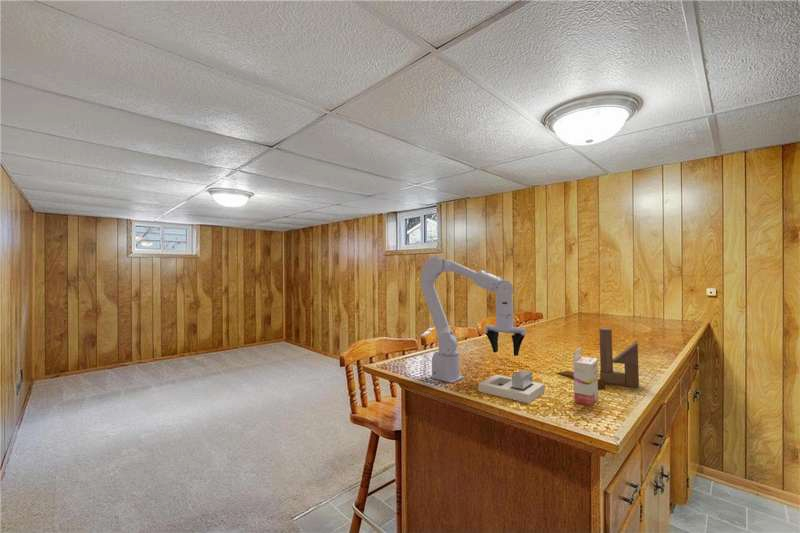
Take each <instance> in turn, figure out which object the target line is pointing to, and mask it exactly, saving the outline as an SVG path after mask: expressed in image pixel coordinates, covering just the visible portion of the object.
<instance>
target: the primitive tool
mask: <svg viewBox="0 0 800 533" xmlns="http://www.w3.org/2000/svg"><path fill="white" fill-rule="evenodd" d="M555 373H556V374H557V375H560V376H563V377H566V378H569V379H572V380H574V371H570V370H569V371H568V370H564V371H560V372H559V371H558V372H555ZM606 385H607V383H605V381H604V380H603V379H600V378H598V390H604V389H605V388H606Z"/></svg>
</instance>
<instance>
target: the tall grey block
mask: <svg viewBox="0 0 800 533" xmlns="http://www.w3.org/2000/svg"><path fill="white" fill-rule="evenodd" d="M511 377H512V389H516V390H521V391H525V390H526V389H528V388H529V387H531V386H532V382H533V371H529V370H523V369H521V370H519V371H517V372H515V373H513V374H512V375H511Z"/></svg>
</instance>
